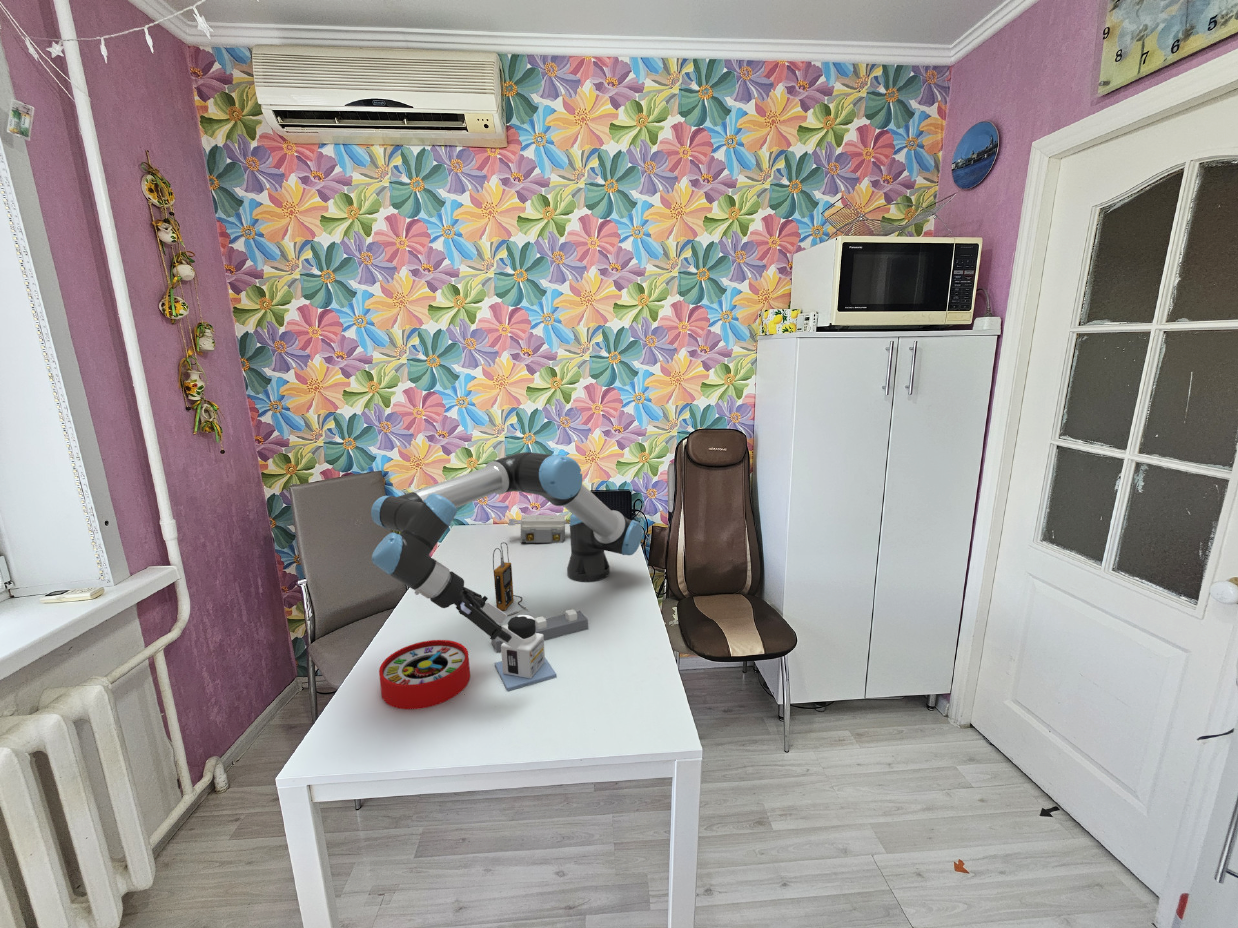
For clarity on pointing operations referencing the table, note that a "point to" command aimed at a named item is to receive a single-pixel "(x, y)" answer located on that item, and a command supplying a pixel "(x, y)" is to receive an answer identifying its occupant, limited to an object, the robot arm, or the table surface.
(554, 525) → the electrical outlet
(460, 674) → the toy clock
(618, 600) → the table surface
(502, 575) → the multimeter
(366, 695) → the table surface
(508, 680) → the pad
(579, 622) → the breaker panel
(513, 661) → the container
